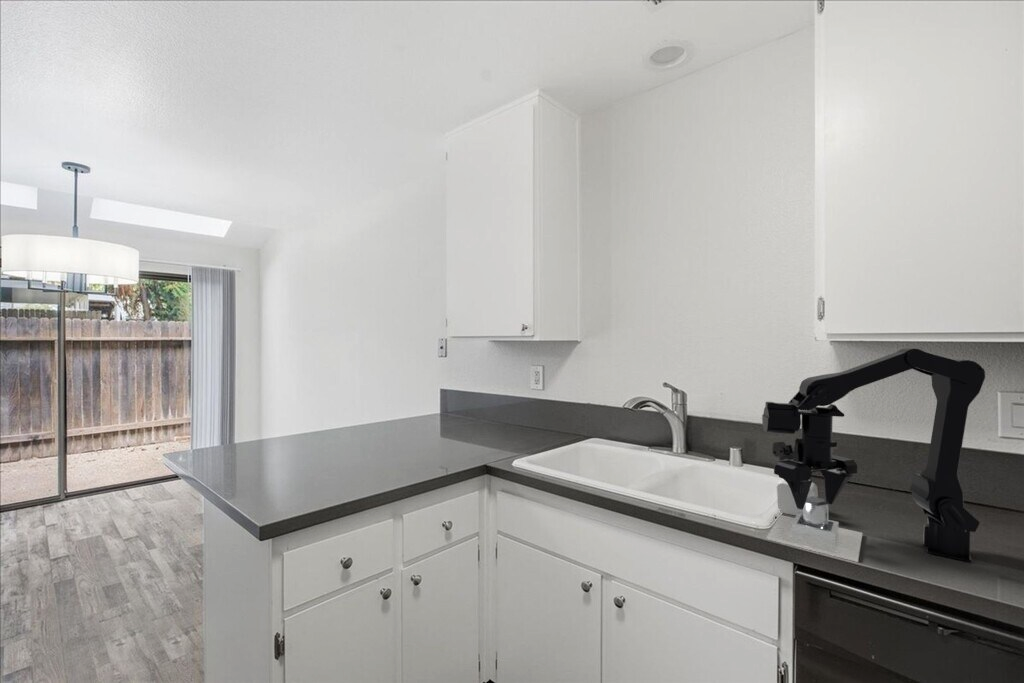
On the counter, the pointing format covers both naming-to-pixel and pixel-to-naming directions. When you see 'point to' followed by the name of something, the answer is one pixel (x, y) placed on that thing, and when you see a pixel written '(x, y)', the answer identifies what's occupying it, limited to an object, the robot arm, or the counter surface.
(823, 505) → the sleeve
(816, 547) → the duct socket
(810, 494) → the grey rounded block
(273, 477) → the counter surface
